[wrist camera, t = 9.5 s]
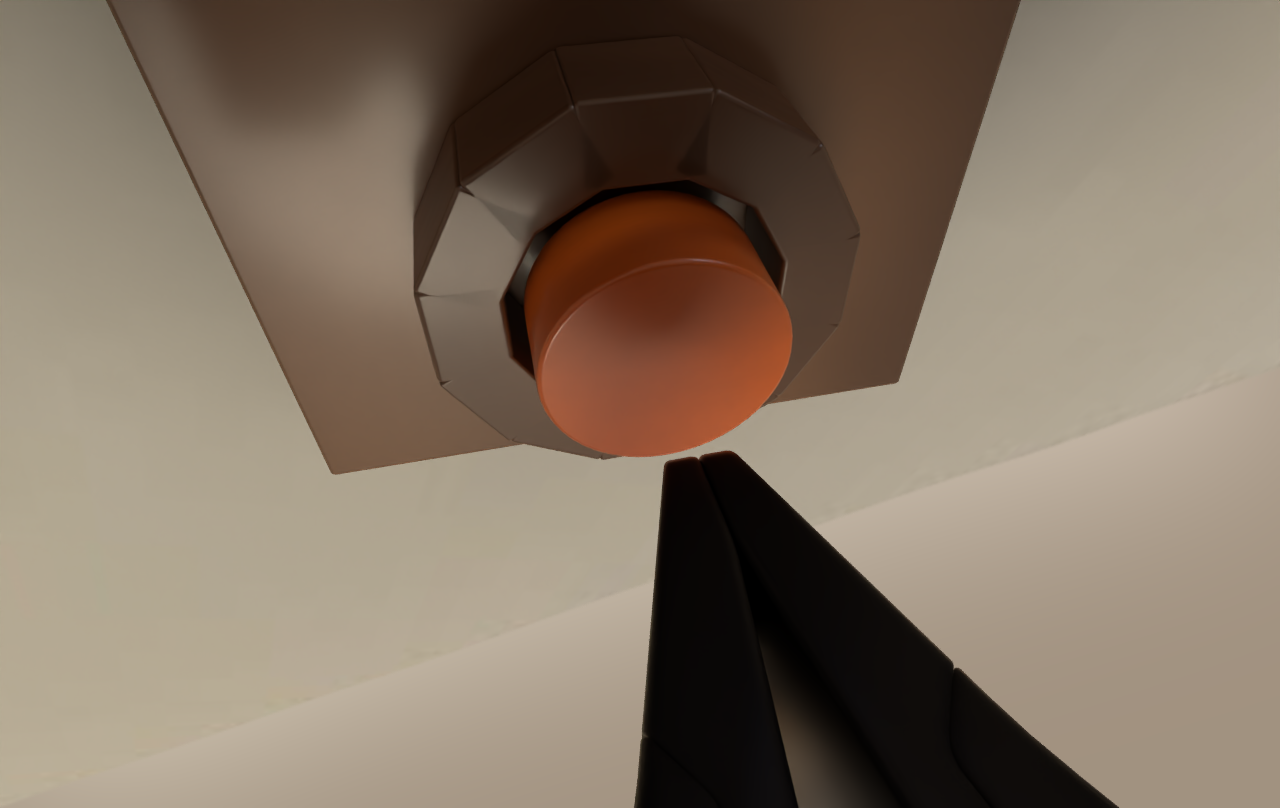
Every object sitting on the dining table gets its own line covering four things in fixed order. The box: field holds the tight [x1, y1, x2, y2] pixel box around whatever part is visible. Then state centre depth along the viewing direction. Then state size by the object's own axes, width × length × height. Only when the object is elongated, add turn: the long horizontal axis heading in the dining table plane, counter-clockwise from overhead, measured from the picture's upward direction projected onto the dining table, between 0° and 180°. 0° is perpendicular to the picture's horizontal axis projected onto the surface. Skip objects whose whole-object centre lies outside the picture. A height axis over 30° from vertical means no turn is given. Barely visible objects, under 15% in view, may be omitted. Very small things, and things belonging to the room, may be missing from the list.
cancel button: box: [524, 190, 793, 457], centre depth 11 cm, size 4×4×2 cm
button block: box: [106, 0, 1021, 475], centre depth 13 cm, size 12×9×4 cm
